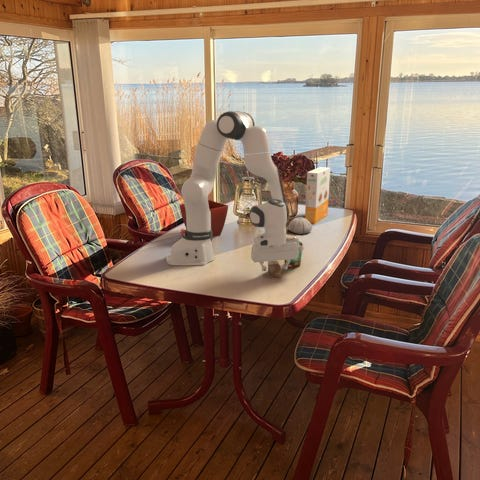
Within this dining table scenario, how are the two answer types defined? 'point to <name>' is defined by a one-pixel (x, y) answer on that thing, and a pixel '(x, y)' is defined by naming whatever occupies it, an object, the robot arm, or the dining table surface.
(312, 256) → the dining table surface
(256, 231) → the dining table surface
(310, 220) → the cereal box
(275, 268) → the walnut block
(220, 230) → the plant pot
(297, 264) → the food container
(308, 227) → the sea urchin shell
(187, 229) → the robot arm
